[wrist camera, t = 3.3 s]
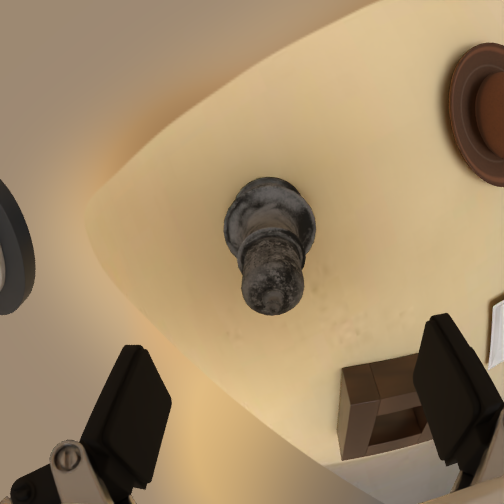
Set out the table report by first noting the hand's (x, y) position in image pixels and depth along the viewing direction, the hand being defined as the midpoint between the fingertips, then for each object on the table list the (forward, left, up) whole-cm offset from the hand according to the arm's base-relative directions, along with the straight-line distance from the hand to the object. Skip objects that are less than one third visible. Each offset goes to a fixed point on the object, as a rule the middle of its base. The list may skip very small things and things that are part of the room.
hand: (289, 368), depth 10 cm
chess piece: (0, 0, -15) cm, 15 cm away
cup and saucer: (+20, +7, -15) cm, 26 cm away
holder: (+12, -24, -15) cm, 31 cm away
